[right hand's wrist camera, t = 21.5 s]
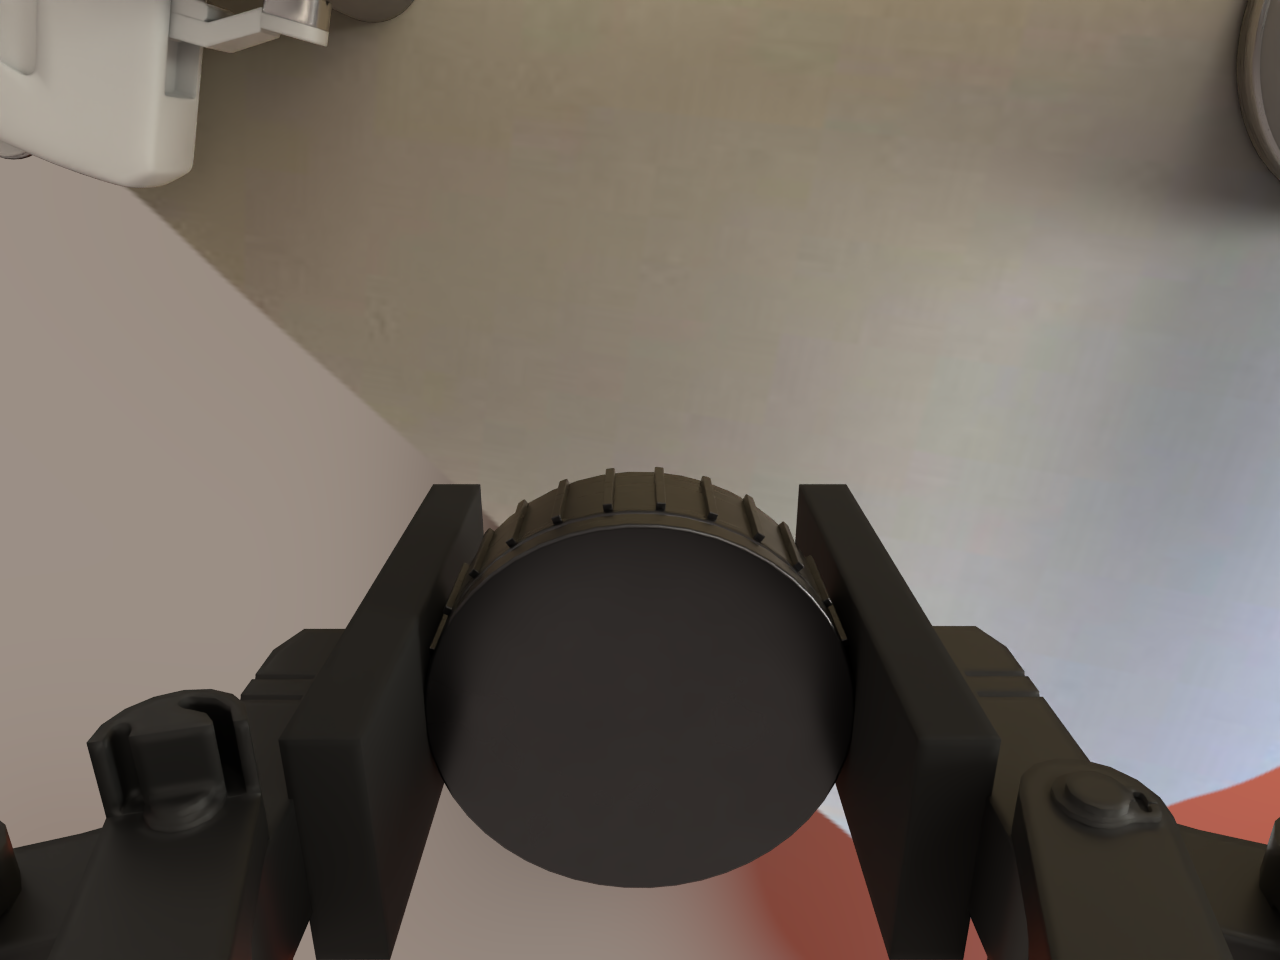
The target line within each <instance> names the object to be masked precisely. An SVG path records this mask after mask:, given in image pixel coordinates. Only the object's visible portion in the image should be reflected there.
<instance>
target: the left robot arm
mask: <svg viewBox="0 0 1280 960" xmlns="http://www.w3.org/2000/svg"><path fill="white" fill-rule="evenodd" d="M331 10H332V3H331V2H329V1H325V0H264V4H263V7H260V8H256V9H253V10H249V11H246V12H243V13H239V14H236V15H233V13H232V11H229V10H226V9H223V8H220V7H217V6H214V5H211V4H208V3H207V0H0V157H2V158H5V159H23V158H27V157H30V156H32V155H34V156H36V157H39V158H41V159H44V160H46V161H49V162H51V163H53V164H56V165H59V166H61V167H64V168H67V169H69V170H72V171H75V172H78V173H80V174H83V175H86V176H90V177H92V178H95V179H99V180H102V181H105V182H108V183H112V184H115V185H119V186H124V187H133V188H148V187H158V186H163V185H166V184H168V183H171V182H173V181H175V180H177V179H178V178H180V177H182V176H184V175H185V174H187V173H189V172H190V170H191V169H192V166H193V161H194V151H195V139H196V127H197V115H198V103H199V92H200V80H201V68H202V56H203V47H206V48H210V49H215V50H219V51H224V52H228V53H234V52H237V51H240V50H243V49H246V48H249V47H253V46H256V45H259V44H262V43H265V42H268V41H271V40H274V39H277V38H280V34H282V35H285V36H289V37H292V38H296V39H299V40H303V41H306V42H310V43H313V44H317V45H320V46H325V47H327V43H328V35H329V27H330V19H331Z"/></svg>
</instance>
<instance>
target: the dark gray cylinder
mask: <svg viewBox="0 0 1280 960" xmlns="http://www.w3.org/2000/svg"><path fill="white" fill-rule="evenodd" d="M325 1H329V2H331V3H332V9H334V10H336V11H338V12H341V13H343V14H345V15H347V16H349V17H352V18H354V19H357V20H360V21H365V22H382V21H386V20H390V19H392V18H394V17H396V16H398V15H399V14H401V13H402V12H403V11H405V10H406V9H407V8H408V7H409V5H410V4H411V3H412V2H413V0H325Z"/></svg>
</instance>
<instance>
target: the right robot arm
mask: <svg viewBox="0 0 1280 960" xmlns="http://www.w3.org/2000/svg"><path fill="white" fill-rule="evenodd" d="M1237 87H1238V96H1239V102H1240V108H1241V113H1242V116H1243V120H1244V123H1245V127H1246V129H1247V132H1248V134H1249V137H1250V139H1251V142H1252V144H1253V145H1254V147H1255V149H1256V151H1257V153H1258V154H1259V156H1260V158H1261V159H1262V161H1263V162H1264V163H1265V165H1266V166H1267V167H1268V169H1269V170H1270V171H1271V172H1272V173H1273V174H1274V175H1275V176H1276V177H1277V179H1278V180H1279V181H1280V0H1248V2H1247V6H1246V9H1245V13H1244V16H1243V21H1242V26H1241V31H1240V36H1239V44H1238V53H1237ZM483 537H484V534H483V519H482V504H481V489H480V484H433V486H432V487H431V489H430V491H429V492H428V494H427V496H426V497H425V499H424V500H423V502H422V504H421V506H420V507H419V509H418V510H417V512H416V514H415V515H414V517H413V519H412V520H411V522H410V523H409V525H408V527H407V529H406V530H405V532H404V533H403V535H402V537H401V538H400V540H399V542H398V543H397V545H396V547H395V548H394V550H393V551H392V553H391V555H390V556H389V558H388V560H387V561H386V563H385V565H384V566H383V568H382V570H381V571H380V573H379V574H378V576H377V578H376V579H375V581H374V583H373V584H372V586H371V588H370V589H369V591H368V593H367V594H366V596H365V598H364V599H363V601H362V602H361V604H360V606H359V607H358V609H357V611H356V612H355V614H354V616H353V617H352V619H351V621H350V622H349V624H348V625H347V627H346V629H304V630H302V631H301V632H299V633H298V634H296V635H295V636H293V637H292V638H290V639H289V640H287V641H286V642H284V643H283V644H281V645H280V646H278V647H277V648H275V649H274V650H273V651H272V653H271V654H270V655H269V657H268V658H267V659H266V661H265V662H264V664H263V665H262V666H261V668H260V669H259V670H258V672H257V673H256V677H255V679H252V680H251V681H250V683H249V684H248V686H247V687H246V688H245V690H244V691H243V692H242V694H241V699H240V700H239V699H238V698H237V697H236V696H234V695H233V694H230V693H225V692H221V691H217V690H213V689H201V690H183V691H178V692H173V693H169V694H165V695H160V696H156V697H153V698H150V699H148V700H145V701H143V702H141V703H138V704H136V705H133V706H131V707H129V708H126V709H124V710H123V711H121V712H120V713H118V714H117V715H115V716H114V717H112V718H111V719H109V720H108V721H106V722H105V723H104V724H102V725H101V726H100V727H99V728H98V730H97V731H96V732H95V733H94V735H93V736H92V737H91V738H90V739H89V741H88V742H87V747H88V750H89V754H90V758H91V761H92V765H93V769H94V773H95V777H96V780H97V784H98V788H99V791H100V795H101V799H102V803H103V807H104V810H105V814H106V820H105V823H104V825H103V827H102V828H99V829H96V830H92V831H89V832H85V833H82V834H77V835H73V836H68V837H63V838H59V839H54V840H50V841H45V842H41V843H36V844H31V845H27V846H22V847H18V848H12V844H11V841H10V838H9V835H8V832H7V829H6V825H5V824H4V823H2V822H1V821H0V960H293V957H294V955H295V953H296V950H297V948H298V946H299V943H300V941H301V939H302V936H303V934H304V932H305V929H306V927H307V925H308V922H309V921H310V926H311V932H312V938H313V944H314V949H315V955H316V960H390V958H391V955H392V951H393V948H394V945H395V942H396V938H397V935H398V932H399V929H400V925H401V922H402V919H403V915H404V912H405V909H406V906H407V902H408V899H409V896H410V893H411V889H412V886H413V883H414V879H415V876H416V873H417V870H418V866H419V863H420V860H421V857H422V853H423V850H424V847H425V844H426V840H427V837H428V834H429V830H430V827H431V824H432V821H433V817H434V814H435V811H436V808H437V804H438V801H439V798H440V795H441V791H442V788H443V785H444V781H443V779H442V778H441V776H440V773H439V771H438V769H437V766H436V764H435V761H434V759H433V756H432V754H431V750H430V746H429V741H428V737H427V728H426V718H425V708H424V694H425V681H426V677H427V673H428V668H429V664H430V660H431V657H432V656H431V655H430V654H429V647H430V645H431V643H432V640H433V638H434V635H435V633H436V631H437V628H438V626H439V623H440V621H441V619H442V616H443V613H442V612H443V609H444V607H445V605H446V602H447V600H448V598H449V595H450V593H451V591H452V588H453V586H454V583H455V581H456V579H457V576H458V574H459V572H460V569H461V567H462V565H463V563H466V564H468V565H470V564H471V562H472V560H473V559H474V557H475V555H476V554H477V552H478V549H479V547H480V544H481V542H482V539H483ZM795 544H796V545H797V546H798V548H799V549H800V550H801V552H802V553H803V554H804V556H805V558H806V557H808V556H809V555H811V556H812V557H813V559H814V561H815V563H816V566H817V568H818V570H819V573H820V575H821V577H822V580H823V582H824V585H825V587H826V589H827V592H828V593H829V595H830V598H831V600H832V603H833V605H834V607H835V610H836V612H837V614H838V617H839V619H840V621H841V624H842V626H843V629H844V631H845V633H846V636H847V638H848V641H849V646H847V647H844V648H845V650H846V653H847V656H848V659H849V661H850V665H851V670H852V675H853V680H854V685H855V712H854V722H853V731H852V740H851V743H850V747H849V751H848V754H847V758H846V760H845V763H844V765H843V767H842V769H841V772H840V774H839V776H838V779H837V781H836V782H835V783H836V787H837V790H838V793H839V796H840V800H841V803H842V806H843V810H844V813H845V816H846V819H847V823H848V826H849V829H850V832H851V836H852V839H853V842H854V845H855V849H856V852H857V855H858V858H859V862H860V865H861V868H862V872H863V875H864V878H865V881H866V885H867V888H868V891H869V894H870V897H871V901H872V904H873V908H874V911H875V914H876V917H877V921H878V924H879V927H880V930H881V934H882V937H883V940H884V943H885V947H886V950H887V953H888V957H889V959H890V960H963V958H964V952H965V946H966V940H967V935H968V929H969V923H970V917H971V919H972V922H973V924H974V926H975V929H976V931H977V933H978V935H979V938H980V940H981V942H982V945H983V947H984V949H985V952H986V954H987V960H1280V818H1278V819H1277V820H1276V821H1275V823H1274V826H1273V829H1272V833H1271V836H1270V839H1269V842H1268V845H1266V844H1262V843H1257V842H1252V841H1247V840H1243V839H1238V838H1234V837H1229V836H1225V835H1220V834H1215V833H1211V832H1206V831H1202V830H1198V829H1194V828H1190V827H1187V826H1183V825H1180V824H1177V823H1176V821H1175V819H1174V817H1173V815H1172V814H1171V812H1170V811H1169V809H1168V808H1167V807H1166V805H1165V804H1164V802H1163V801H1162V799H1161V798H1160V797H1159V796H1157V795H1156V794H1155V793H1154V792H1152V791H1151V790H1150V789H1148V788H1147V787H1146V786H1145V785H1143V784H1142V783H1141V782H1139V781H1138V780H1136V779H1134V778H1132V777H1130V776H1128V775H1126V774H1124V773H1122V772H1120V771H1117V770H1115V769H1113V768H1111V767H1108V766H1104V765H1100V764H1097V763H1093V762H1090V761H1089V759H1088V758H1087V757H1086V755H1085V754H1084V752H1083V751H1082V750H1081V748H1080V747H1079V746H1078V744H1077V743H1076V741H1075V740H1074V739H1073V737H1072V736H1071V735H1070V733H1069V732H1068V731H1067V729H1066V728H1065V726H1064V725H1063V724H1062V722H1061V721H1060V720H1059V718H1058V717H1057V715H1056V714H1055V713H1054V711H1053V710H1052V709H1051V707H1050V706H1049V704H1048V703H1047V702H1046V700H1045V699H1044V698H1043V697H1040V696H1039V691H1038V689H1037V688H1036V687H1035V685H1034V684H1033V683H1032V681H1031V680H1030V678H1029V677H1028V676H1025V675H1024V670H1023V669H1022V668H1021V666H1020V665H1019V663H1018V662H1017V661H1016V659H1015V658H1014V657H1013V655H1012V654H1011V652H1010V651H1009V650H1008V648H1007V647H1006V646H1004V645H1003V644H1001V643H1000V642H998V641H997V640H995V639H994V638H992V637H991V636H989V635H988V634H986V633H985V632H983V631H982V630H980V629H979V628H977V627H976V626H932V625H931V623H930V622H929V620H928V618H927V617H926V615H925V613H924V612H923V610H922V608H921V607H920V605H919V603H918V602H917V600H916V599H915V597H914V595H913V594H912V592H911V590H910V589H909V587H908V585H907V584H906V582H905V580H904V579H903V577H902V575H901V574H900V572H899V571H898V569H897V567H896V566H895V564H894V562H893V561H892V559H891V557H890V556H889V554H888V552H887V551H886V549H885V547H884V546H883V544H882V543H881V541H880V539H879V538H878V536H877V534H876V533H875V531H874V529H873V528H872V526H871V524H870V523H869V521H868V520H867V518H866V516H865V515H864V513H863V511H862V510H861V508H860V506H859V505H858V503H857V501H856V500H855V498H854V496H853V495H852V493H851V492H850V490H849V488H848V487H847V485H846V484H799V496H798V510H797V525H796V540H795Z"/></svg>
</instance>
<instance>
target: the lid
mask: <svg viewBox="0 0 1280 960" xmlns="http://www.w3.org/2000/svg"><path fill="white" fill-rule="evenodd" d="M442 613H443V616H442V619H441V621H440V623H439V626H438V628H437V631H436V633H435V635H434V638H433V640H432V643H431V645H430V647H429V654H430V655H431V656H432V657H431V660H430V664H429V668H428V673H427V677H426V681H425V694H424V708H425V718H426V728H427V737H428V741H429V746H430V750H431V754H432V756H433V759H434V761H435V764H436V766H437V769H438V771H439V773H440V776H441V778H442V779H443V781H444V783H445V785H446V786H447V788H448V790H449V791H450V793H451V795H452V796H453V798H454V799H455V800H456V802H457V803H458V804H459V806H460V807H461V808H462V809H463V811H464V812H465V813H466V814H467V816H468V817H469V818H470V819H471V820H472V821H473V822H474V823H475V824H476V825H477V826H478V827H479V828H480V829H482V830H483V831H484V832H485V833H486V834H487V835H488V836H490V837H491V838H492V839H494V840H495V841H496V842H497V843H499V844H500V845H501V846H503V847H504V848H505V849H507V850H509V851H510V852H512V853H514V854H516V855H517V856H519V857H521V858H522V859H524V860H526V861H528V862H530V863H532V864H534V865H536V866H539V867H541V868H543V869H545V870H548V871H550V872H553V873H556V874H559V875H562V876H565V877H568V878H571V879H574V880H579V881H584V882H588V883H593V884H598V885H606V886H615V887H624V888H654V887H665V886H675V885H681V884H686V883H691V882H696V881H701V880H704V879H708V878H711V877H714V876H717V875H721V874H724V873H727V872H729V871H731V870H734V869H736V868H738V867H741V866H743V865H745V864H748V863H750V862H752V861H753V860H755V859H757V858H759V857H760V856H762V855H764V854H766V853H767V852H769V851H771V850H772V849H774V848H775V847H776V846H778V845H779V844H780V843H782V842H783V841H785V840H786V839H787V838H789V837H790V836H791V835H792V834H793V833H794V832H796V831H797V830H798V829H799V828H800V827H801V826H802V825H803V824H804V823H805V822H806V821H807V820H808V819H809V818H810V817H811V816H812V815H813V813H814V812H815V811H816V810H817V809H818V807H819V806H820V805H821V804H822V803H823V801H824V800H825V798H826V797H827V795H828V794H829V792H830V790H831V789H832V787H833V785H834V784H835V782H836V781H837V779H838V776H839V774H840V772H841V769H842V767H843V765H844V763H845V760H846V758H847V754H848V751H849V747H850V743H851V740H852V731H853V722H854V712H855V685H854V680H853V675H852V670H851V665H850V661H849V659H848V656H847V653H846V650H845V648H844V647H847V646H849V641H848V638H847V636H846V633H845V631H844V629H843V626H842V624H841V621H840V619H839V617H838V614H837V612H836V610H835V607H834V605H833V603H832V600H831V598H830V595H829V593H828V592H827V589H826V587H825V585H824V582H823V580H822V577H821V575H820V573H819V570H818V568H817V566H816V563H815V561H814V559H813V557H812V556H811V555H809V556H808V557H806V558H805V556H804V554H803V553H802V552H801V550H800V549H799V548H798V546H797V545H796V544H795V542H794V540H793V537H792V535H791V532H790V529H789V527H788V525H787V524H786V523H785V522H782V523H781V524H779V525H778V524H777V523H776V522H775V521H774V520H773V519H772V518H770V517H769V516H768V515H766V514H765V513H764V512H762V511H761V510H760V509H758V508H757V507H756V506H755V503H754V500H753V498H752V497H750V496H749V495H747V494H746V496H745V497H744V498H743V499H742V498H740V497H739V496H737V495H735V494H733V493H732V492H729V491H727V490H724V489H722V488H719V487H717V486H715V485H712V483H711V479H710V478H709V477H705V476H702V479H701V481H699V480H696V479H692V478H688V477H684V476H679V475H672V474H665V473H664V471H663V468H660V467H655V471H654V472H624V473H615V469H614V468H610V469H606V475H600V476H596V477H592V478H588V479H583V480H579V481H576V482H573V483H570V484H569V482H568V480H567V479H565V480H562V481H560V482H559V486H558V488H557V489H555V490H552V491H550V492H548V493H547V494H545V495H543V496H541V497H539V498H537V499H535V500H533V501H532V502H530V503H527V501H526V500H525V499H524V500H523V501H521V502H520V503H518V506H517V509H516V512H515V513H514V514H513V515H512V516H510V517H509V518H508V519H507V520H506V521H505V522H504V523H503V524H502V525H501V526H500V527H498V528H497V529H496V530H495V531H493V530H492V529H491V528H489V529H488V530H487V531H486V532H485V534H484V537H483V539H482V542H481V544H480V547H479V549H478V552H477V554H476V555H475V557H474V559H473V560H472V562H471V564H470V565H468V564H466V563H463V565H462V567H461V569H460V572H459V574H458V576H457V579H456V581H455V583H454V586H453V588H452V591H451V593H450V595H449V598H448V600H447V602H446V605H445V607H444V609H443V612H442Z"/></svg>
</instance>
